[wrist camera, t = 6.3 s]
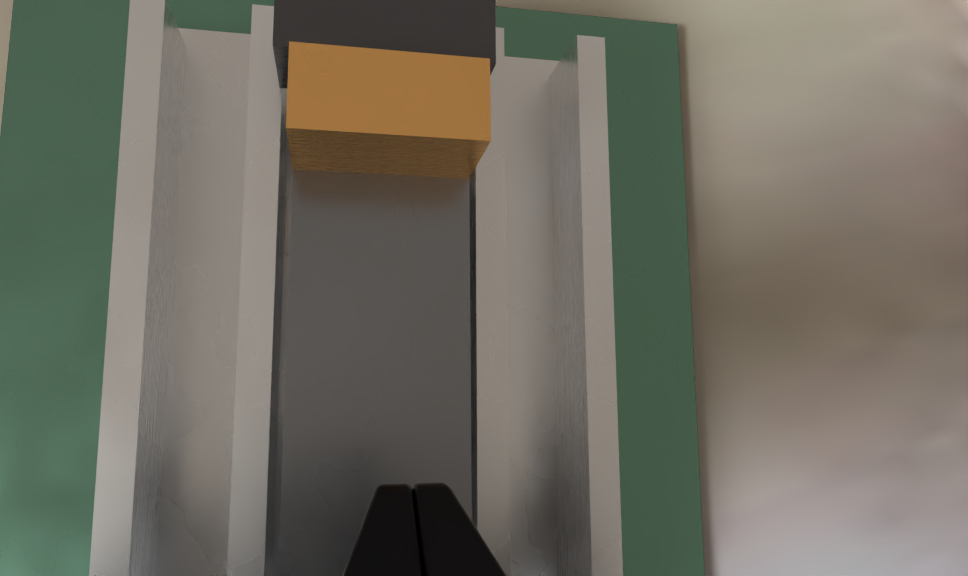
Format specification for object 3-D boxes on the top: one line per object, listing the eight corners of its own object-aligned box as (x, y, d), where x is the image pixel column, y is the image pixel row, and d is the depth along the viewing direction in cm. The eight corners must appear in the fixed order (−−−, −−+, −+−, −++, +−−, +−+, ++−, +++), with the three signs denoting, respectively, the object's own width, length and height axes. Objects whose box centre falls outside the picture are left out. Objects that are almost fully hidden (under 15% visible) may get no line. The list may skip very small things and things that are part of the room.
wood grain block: (465, 645, 15) (497, 701, 12) (278, 659, 14) (264, 722, 11) (462, 121, 17) (489, 58, 14) (296, 109, 16) (289, 41, 13)
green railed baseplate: (702, 733, 20) (853, 867, 14) (-53, 809, 16) (-263, 1031, 11) (668, 34, 23) (781, -91, 17) (26, -28, 19) (-103, -212, 14)
